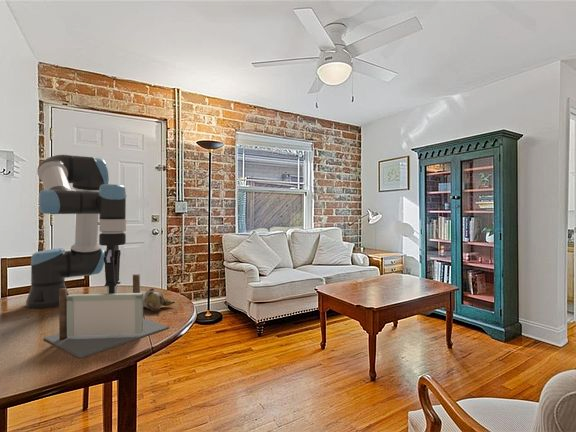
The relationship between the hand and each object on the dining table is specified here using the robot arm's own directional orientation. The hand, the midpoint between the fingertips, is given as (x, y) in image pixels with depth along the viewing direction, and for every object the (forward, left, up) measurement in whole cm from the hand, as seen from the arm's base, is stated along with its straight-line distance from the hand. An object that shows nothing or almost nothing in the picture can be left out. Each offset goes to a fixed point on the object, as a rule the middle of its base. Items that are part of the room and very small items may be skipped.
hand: (112, 305), depth 105 cm
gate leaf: (+1, -3, -8) cm, 9 cm away
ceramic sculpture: (-15, +24, -10) cm, 30 cm away
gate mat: (-2, 0, -10) cm, 10 cm away
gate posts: (-10, +2, -10) cm, 14 cm away
